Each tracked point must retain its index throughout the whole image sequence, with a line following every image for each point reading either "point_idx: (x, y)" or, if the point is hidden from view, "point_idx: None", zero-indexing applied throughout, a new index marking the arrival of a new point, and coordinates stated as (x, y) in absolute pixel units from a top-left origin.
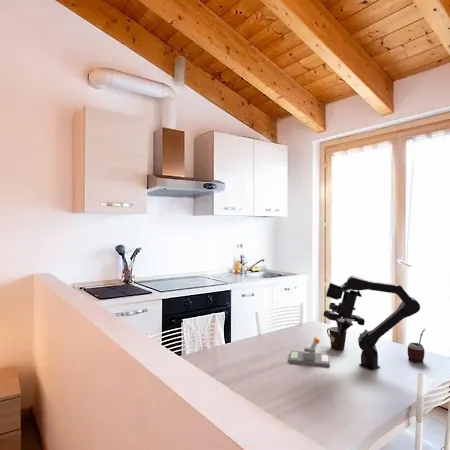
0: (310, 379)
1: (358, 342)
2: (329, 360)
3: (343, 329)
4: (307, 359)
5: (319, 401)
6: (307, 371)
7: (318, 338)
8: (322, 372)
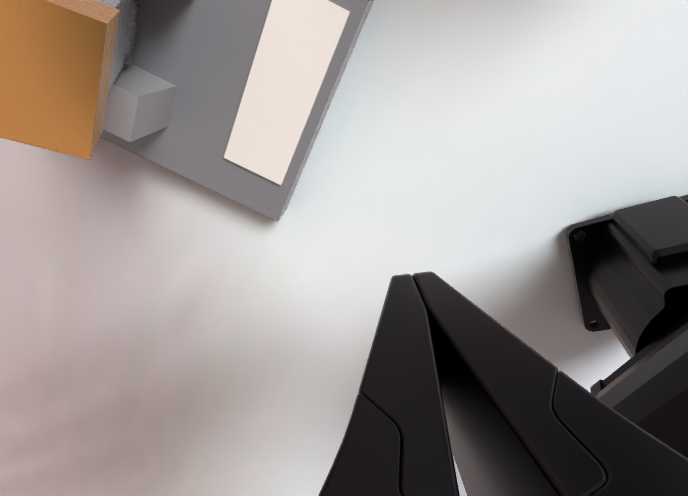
0: (107, 333)
1: (678, 368)
2: (307, 149)
3: (469, 489)
4: None
5: (117, 479)
6: (102, 239)
7: (66, 84)
8: (201, 273)
